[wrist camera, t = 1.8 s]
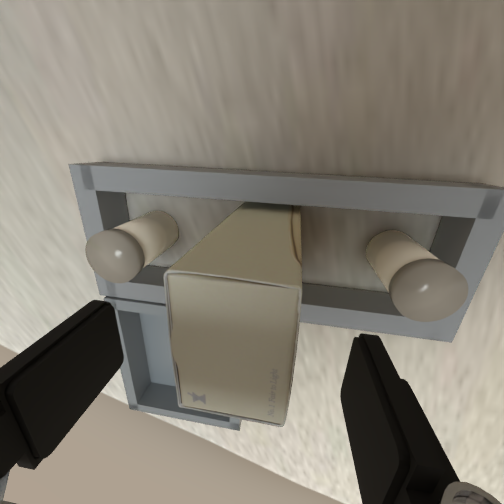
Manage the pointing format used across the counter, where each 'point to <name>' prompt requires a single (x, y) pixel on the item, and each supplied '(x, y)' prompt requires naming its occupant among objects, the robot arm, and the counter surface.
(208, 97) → the counter surface
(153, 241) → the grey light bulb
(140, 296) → the grey rectangular frame
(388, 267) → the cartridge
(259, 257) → the skincare box
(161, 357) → the tray
